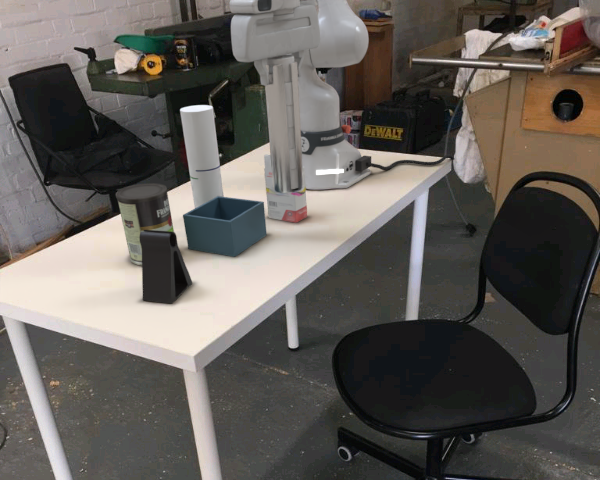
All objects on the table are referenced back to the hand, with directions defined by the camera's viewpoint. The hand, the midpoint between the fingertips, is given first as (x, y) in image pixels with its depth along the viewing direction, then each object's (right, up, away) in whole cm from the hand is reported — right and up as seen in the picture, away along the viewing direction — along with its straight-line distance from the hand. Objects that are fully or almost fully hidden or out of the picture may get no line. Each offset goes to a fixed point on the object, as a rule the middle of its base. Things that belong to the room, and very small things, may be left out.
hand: (281, 81), depth 124 cm
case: (-12, -27, +18) cm, 35 cm away
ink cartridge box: (+1, -18, +29) cm, 34 cm away
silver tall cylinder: (+1, -17, +12) cm, 21 cm away
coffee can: (-28, -31, +14) cm, 44 cm away
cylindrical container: (-18, -18, +31) cm, 40 cm away
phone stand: (-22, -41, -1) cm, 46 cm away
